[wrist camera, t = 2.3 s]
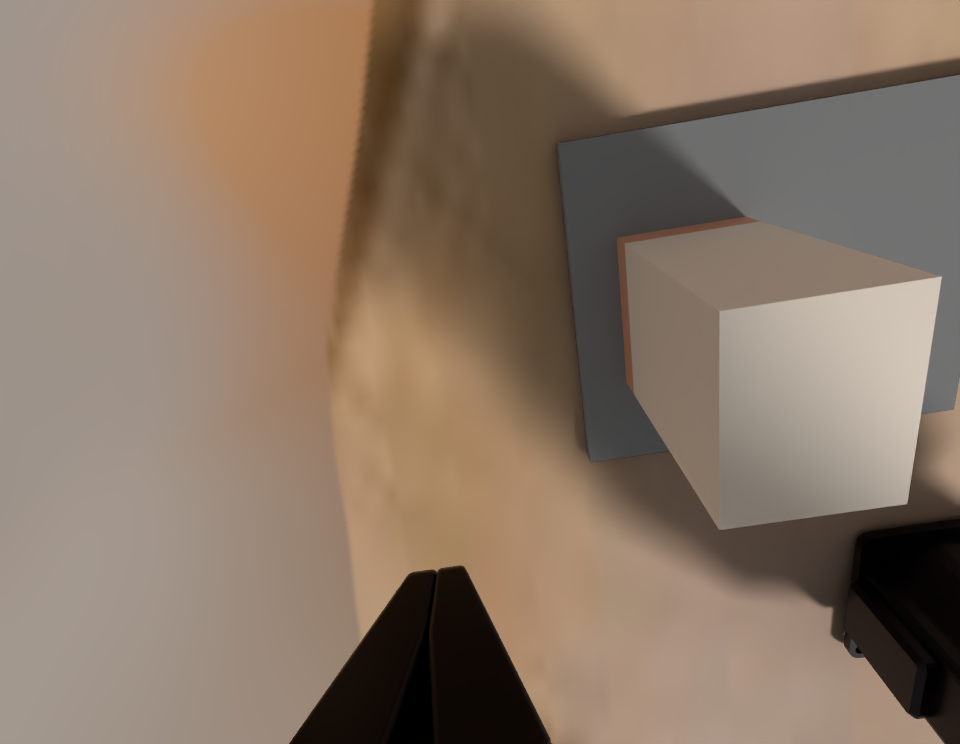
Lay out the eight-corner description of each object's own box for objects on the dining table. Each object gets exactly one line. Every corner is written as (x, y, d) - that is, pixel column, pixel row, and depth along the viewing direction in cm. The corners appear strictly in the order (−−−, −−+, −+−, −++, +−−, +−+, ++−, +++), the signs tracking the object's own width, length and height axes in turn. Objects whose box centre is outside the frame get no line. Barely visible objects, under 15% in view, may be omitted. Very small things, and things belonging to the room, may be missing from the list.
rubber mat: (999, 67, 17) (1014, 65, 16) (943, 403, 21) (953, 409, 21) (556, 143, 17) (558, 143, 17) (587, 455, 22) (590, 462, 21)
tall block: (745, 216, 18) (942, 276, 10) (742, 364, 20) (907, 503, 12) (616, 237, 18) (719, 311, 11) (626, 382, 20) (719, 530, 13)
